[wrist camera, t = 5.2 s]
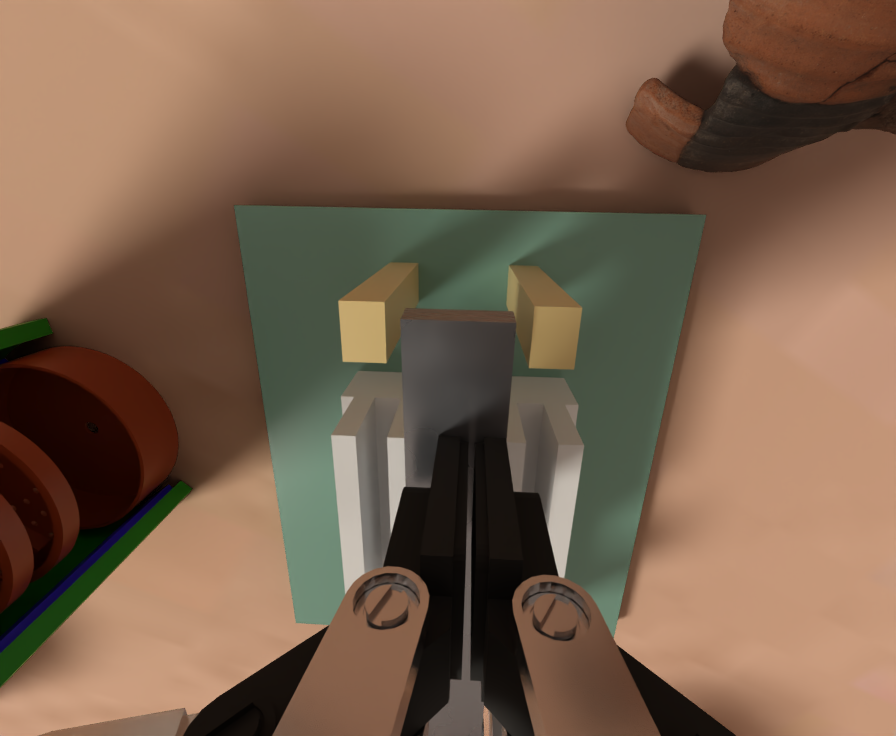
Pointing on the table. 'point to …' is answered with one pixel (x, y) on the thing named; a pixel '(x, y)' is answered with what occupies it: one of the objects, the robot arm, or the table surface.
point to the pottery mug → (780, 85)
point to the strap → (455, 414)
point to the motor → (72, 481)
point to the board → (533, 377)
